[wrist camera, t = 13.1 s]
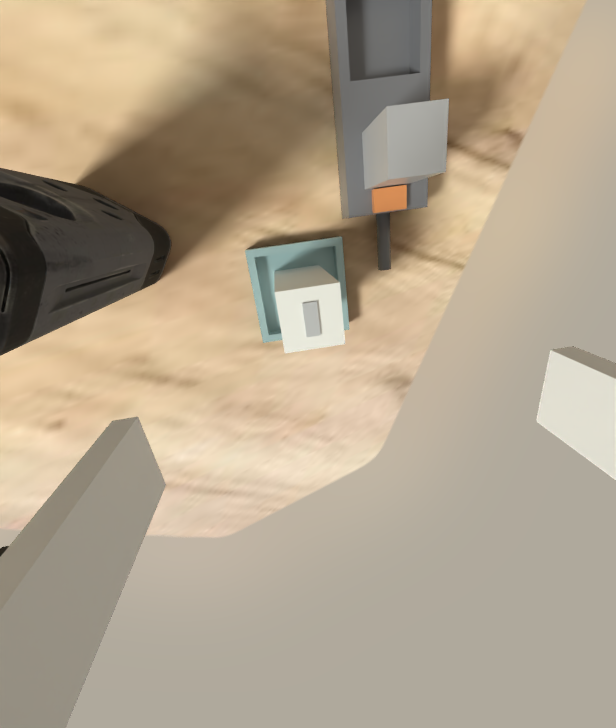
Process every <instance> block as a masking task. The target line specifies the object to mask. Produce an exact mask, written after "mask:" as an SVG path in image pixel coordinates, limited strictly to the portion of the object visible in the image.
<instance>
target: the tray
mask: <svg viewBox="0 0 616 728" xmlns="http://www.w3.org/2000/svg"><path fill="white" fill-rule="evenodd" d="M245 253H246V258H247V263H248V268H249V273H250V278H251V283H252V288H253V293H254V298H255V303H256V308H257V313H258V319H259V324H260V329H261V334H262V339H263V343H265V342H271V341H278V340H283V339H282V333H281V327H280V321H279V316H278V310H277V304H276V298H275V290H274V271H280V270H287V269H294V268H301V267H307V266H314V265H319V266H321V267H322V268H323V269H324V270H325V271H327V272H328V273H329V274H330V275H331V276H333V277H334V278H335V279H336V280H338V281H339V282H340V289H341V300H342V312H343V324H344V330H349V319H348V306H347V293H346V280H345V267H344V254H343V242H342V237H340V236H337V237H330V238H323V239H316V240H309V241H302V242H295V243H288V244H281V245H274V246H267V247H260V248H253V249H246V250H245Z"/></svg>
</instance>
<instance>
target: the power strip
mask: <svg viewBox="0 0 616 728" xmlns="http://www.w3.org/2000/svg"><path fill="white" fill-rule="evenodd" d="M326 12H327V25H328V38H329V52H330V65H331V78H332V91H333V104H334V117H335V130H336V143H337V157H338V170H339V183H340V196H341V209H342V219H345V218H352V217H359V216H366V215H373V214H376V220H377V248H378V270H388V269H391V251H390V212H395V211H402V210H409V209H416V208H423V207H427V198H428V178H429V177H432V176H435V175H438V174H441V173H444V172H446V156H447V132H448V109H449V99H441V100H433V101H430V67H431V23H432V0H326Z"/></svg>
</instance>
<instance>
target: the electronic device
mask: <svg viewBox="0 0 616 728" xmlns="http://www.w3.org/2000/svg"><path fill="white" fill-rule="evenodd" d="M170 249H171V240H170V236H169V235H168V233H167V232H166V230H165V229H164V228H163V227H161V226H160V225H158V224H157V223H155V222H153V221H151V220H149V219H147V218H146V217H144V216H142V215H140V214H138V213H136V212H134V211H132V210H130V209H128V208H126V207H124V206H122V205H120V204H119V203H117V202H115V201H113V200H111V199H109V198H107V197H105V196H103V195H101V194H99V193H97V192H95V191H93V190H92V189H89V188H87V187H84V186H80V185H76V184H72V183H67V182H63V181H58V180H53V179H49V178H44V177H40V176H35V175H31V174H26V173H22V172H17V171H12V170H8V169H3V168H0V355H3V354H5V353H7V352H9V351H11V350H13V349H15V348H18V347H20V346H22V345H24V344H26V343H28V342H30V341H32V340H35V339H37V338H39V337H41V336H43V335H45V334H47V333H50V332H52V331H54V330H56V329H58V328H60V327H62V326H65V325H67V324H69V323H71V322H73V321H75V320H77V319H80V318H82V317H84V316H86V315H88V314H90V313H92V312H95V311H97V310H99V309H101V308H103V307H105V306H108V305H110V304H112V303H114V302H116V301H118V300H120V299H123V298H125V297H127V296H129V295H131V294H133V293H135V292H138V291H140V290H142V289H144V288H146V287H148V286H150V285H152V284H155V283H156V282H157V281H158V280H159V279H160V277H161V275H162V272H163V269H164V267H165V264H166V261H167V258H168V256H169V253H170Z"/></svg>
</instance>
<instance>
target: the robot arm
mask: <svg viewBox="0 0 616 728" xmlns="http://www.w3.org/2000/svg"><path fill="white" fill-rule="evenodd" d="M536 421H537V422H538V423H539V424H540V425H542V426H543V427H545V428H546V429H547V430H549V431H550V432H551V433H553V434H554V435H555V436H557V437H558V438H559V439H561V440H562V441H563V442H565V443H566V444H568V445H569V446H570V447H572V448H573V449H574V450H576V451H577V452H578V453H580V454H581V455H582V456H584V457H585V458H587V459H588V460H589V461H590V462H592V463H593V464H594V465H596V466H597V467H599V468H600V469H601V470H603V471H604V472H606V473H607V474H608V475H609V476H611V477H612V478H613V479H615V480H616V363H613V362H611V361H609V360H606V359H604V358H601V357H599V356H596V355H594V354H591V353H589V352H586V351H584V350H581V349H579V348H576V347H574V346H572V347H565V348H560V349H553V350H550V355H549V360H548V364H547V370H546V374H545V379H544V384H543V389H542V394H541V400H540V404H539V409H538V414H537V419H536ZM165 486H166V484H165V481H164V479H163V476H162V474H161V471H160V469H159V467H158V464H157V462H156V459H155V457H154V454H153V452H152V450H151V447H150V445H149V442H148V440H147V438H146V435H145V433H144V430H143V428H142V425H141V423H140V421H139V418H138V417H133V418H127V419H121V420H115V421H112V422H111V423H110V424H109V426H108V427H107V428H106V429H105V430H104V432H103V433H102V434H101V435H100V437H99V438H98V439H97V440H96V441H95V443H94V444H93V445H92V446H91V447H90V449H89V450H88V451H87V452H86V454H85V455H84V456H83V457H82V458H81V460H80V461H79V462H78V463H77V464H76V466H75V467H74V468H73V469H72V471H71V472H70V473H69V474H68V475H67V477H66V478H65V479H64V480H63V481H62V483H61V484H60V485H59V486H58V488H57V489H56V490H55V491H54V492H53V494H52V495H51V496H50V497H49V498H48V500H47V501H46V502H45V503H44V505H43V506H42V507H41V508H40V509H39V511H38V512H37V513H36V514H35V515H34V517H33V518H32V519H31V520H30V522H29V523H28V524H27V525H26V526H25V528H24V529H23V530H22V531H21V532H20V534H19V535H18V536H17V537H16V539H15V540H14V541H13V542H12V544H11V545H10V546H6V547H2V548H1V549H0V728H66V726H67V723H68V720H69V718H70V716H71V713H72V711H73V708H74V706H75V703H76V701H77V699H78V696H79V694H80V692H81V689H82V686H83V684H84V682H85V680H86V677H87V675H88V672H89V670H90V667H91V665H92V662H93V660H94V658H95V655H96V653H97V650H98V648H99V646H100V643H101V641H102V638H103V636H104V634H105V631H106V629H107V626H108V624H109V621H110V619H111V617H112V614H113V612H114V609H115V607H116V604H117V602H118V600H119V597H120V595H121V592H122V590H123V588H124V585H125V583H126V580H127V578H128V575H129V573H130V571H131V568H132V566H133V563H134V561H135V559H136V556H137V553H138V551H139V549H140V546H141V544H142V541H143V539H144V537H145V534H146V532H147V529H148V527H149V525H150V522H151V520H152V517H153V515H154V513H155V510H156V508H157V505H158V503H159V500H160V498H161V496H162V493H163V491H164V488H165Z"/></svg>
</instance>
